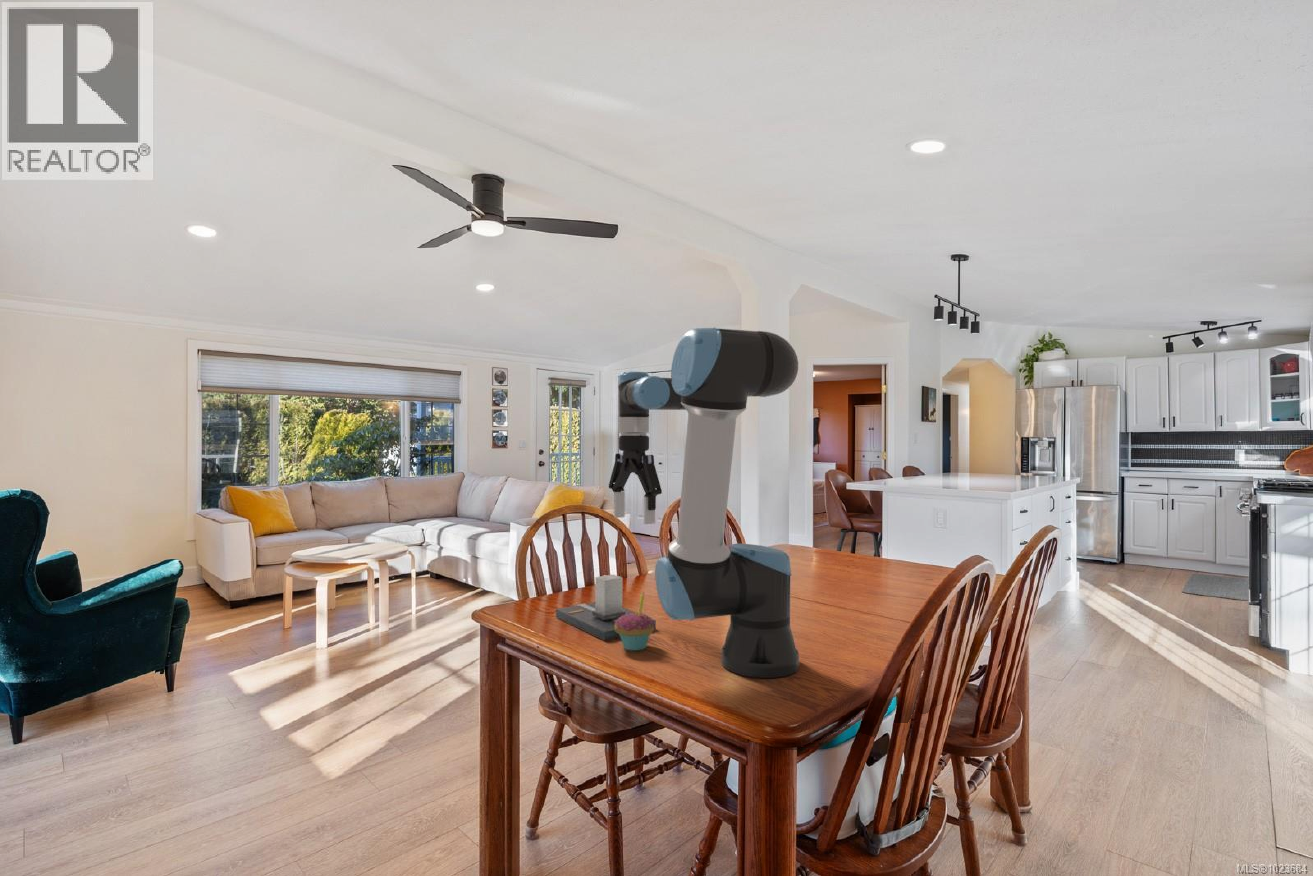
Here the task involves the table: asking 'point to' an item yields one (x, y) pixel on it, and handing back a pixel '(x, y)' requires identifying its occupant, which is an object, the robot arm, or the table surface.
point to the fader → (608, 597)
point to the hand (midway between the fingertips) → (633, 520)
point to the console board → (590, 620)
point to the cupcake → (634, 628)
